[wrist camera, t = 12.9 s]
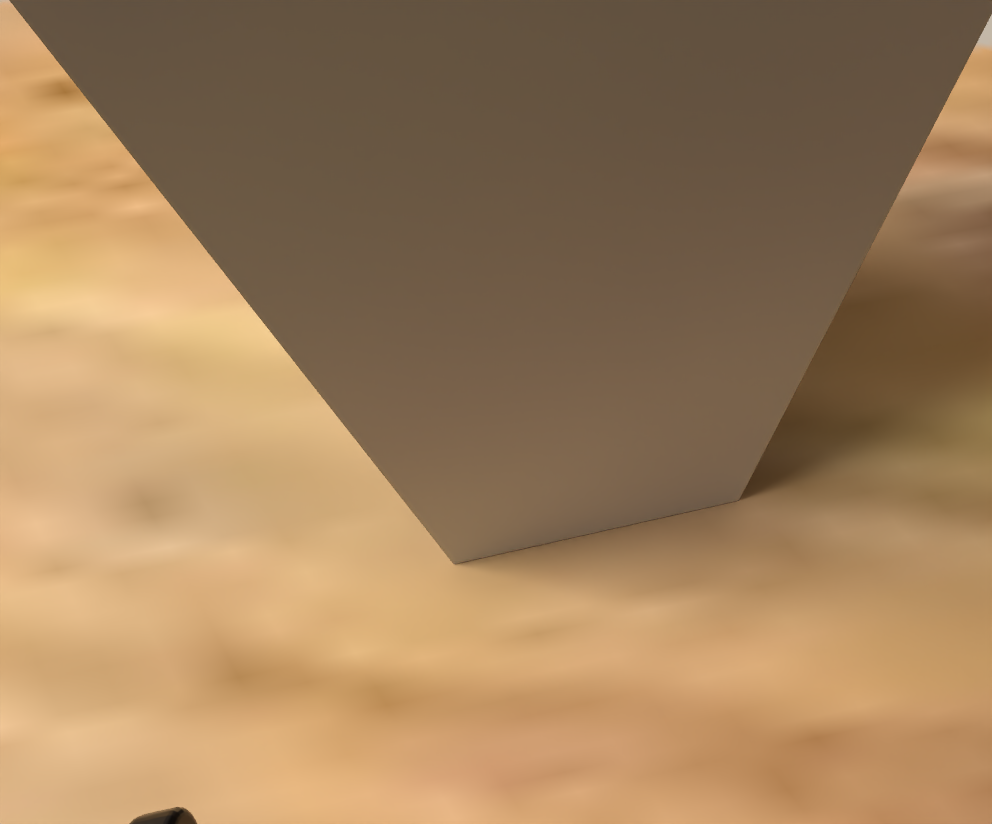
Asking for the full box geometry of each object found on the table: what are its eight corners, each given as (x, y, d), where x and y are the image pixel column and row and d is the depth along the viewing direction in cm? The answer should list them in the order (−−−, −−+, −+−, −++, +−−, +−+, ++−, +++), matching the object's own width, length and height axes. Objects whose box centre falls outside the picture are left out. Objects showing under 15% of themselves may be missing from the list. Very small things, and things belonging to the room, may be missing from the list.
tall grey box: (738, 500, 20) (1150, -290, 5) (453, 564, 20) (7, -4, 5) (660, 255, 22) (771, -754, 7) (409, 315, 22) (24, -550, 8)
